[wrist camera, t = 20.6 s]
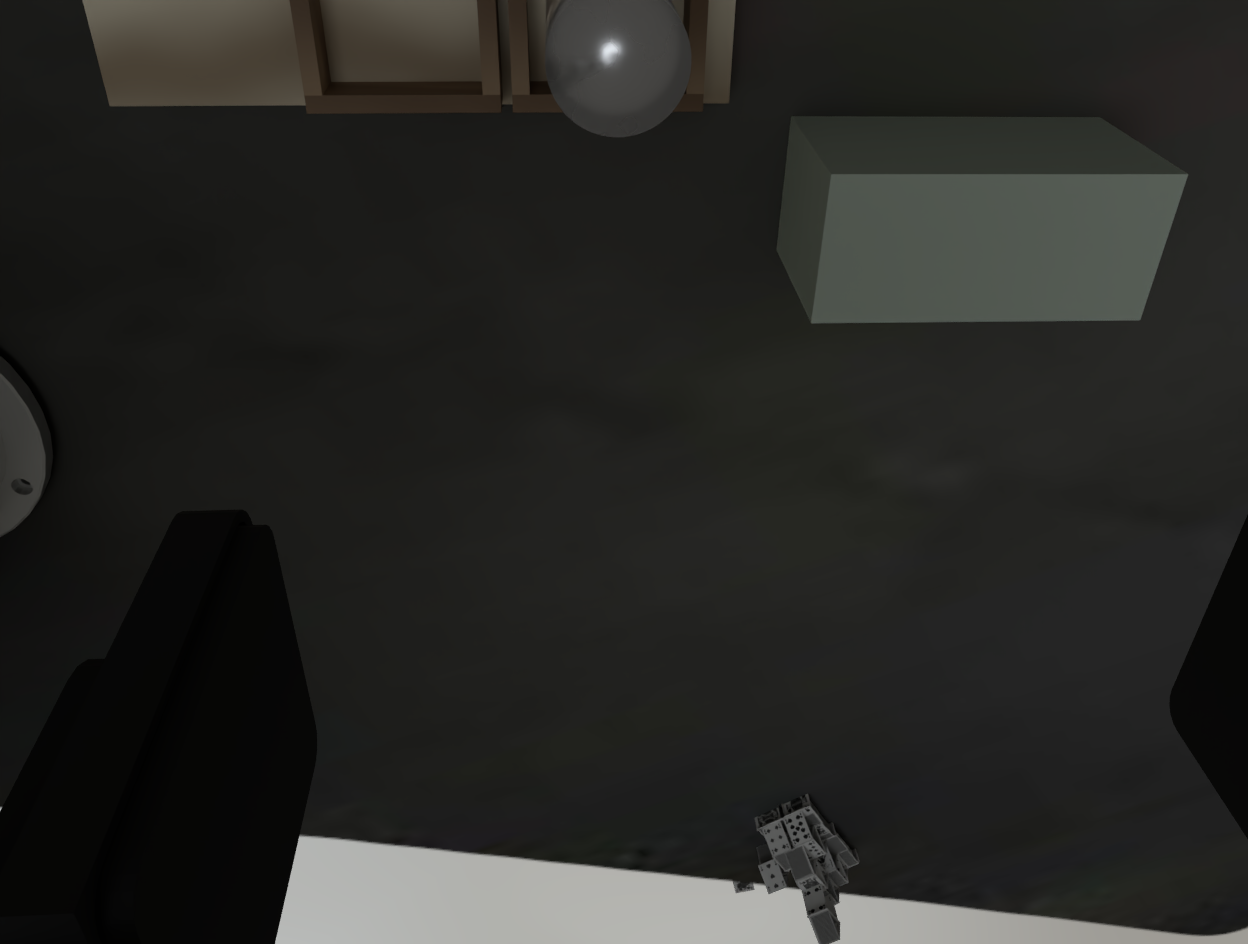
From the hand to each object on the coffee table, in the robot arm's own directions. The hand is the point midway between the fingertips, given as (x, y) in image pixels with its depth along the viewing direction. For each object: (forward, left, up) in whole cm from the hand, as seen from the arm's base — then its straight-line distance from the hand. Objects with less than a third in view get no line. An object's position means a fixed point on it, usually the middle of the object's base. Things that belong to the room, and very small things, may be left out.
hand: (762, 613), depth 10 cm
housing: (-7, -14, -34) cm, 37 cm away
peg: (0, 0, -31) cm, 31 cm away
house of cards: (-50, -11, -34) cm, 61 cm away
